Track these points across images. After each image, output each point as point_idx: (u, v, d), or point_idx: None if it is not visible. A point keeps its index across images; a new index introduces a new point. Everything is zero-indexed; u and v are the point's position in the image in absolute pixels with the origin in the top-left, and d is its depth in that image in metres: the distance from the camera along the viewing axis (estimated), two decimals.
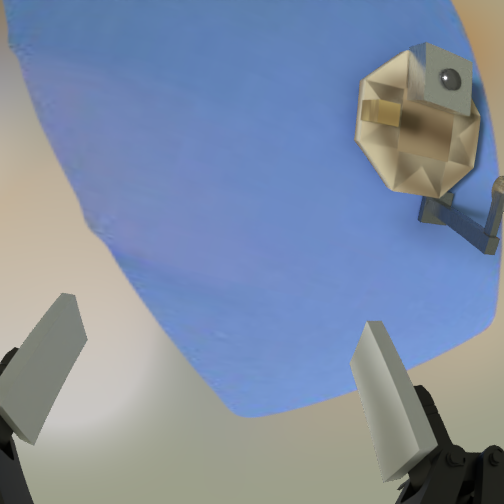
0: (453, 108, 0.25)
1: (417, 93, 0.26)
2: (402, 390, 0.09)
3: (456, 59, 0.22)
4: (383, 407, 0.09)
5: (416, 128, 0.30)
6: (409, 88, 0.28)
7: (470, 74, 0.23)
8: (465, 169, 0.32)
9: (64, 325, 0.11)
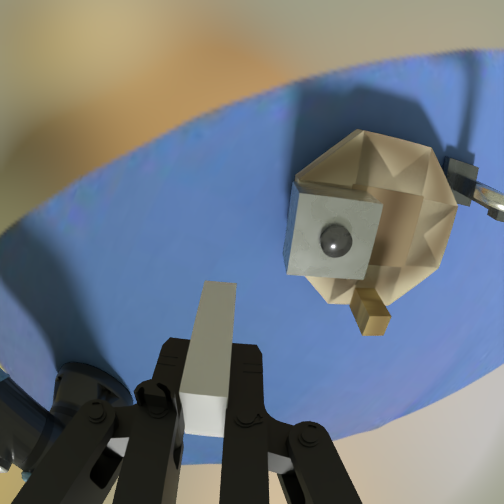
0: (374, 235, 0.24)
1: None
2: (217, 340, 0.11)
3: (302, 225, 0.23)
4: None
5: (383, 245, 0.29)
6: None
7: (321, 199, 0.22)
8: (433, 163, 0.25)
9: None
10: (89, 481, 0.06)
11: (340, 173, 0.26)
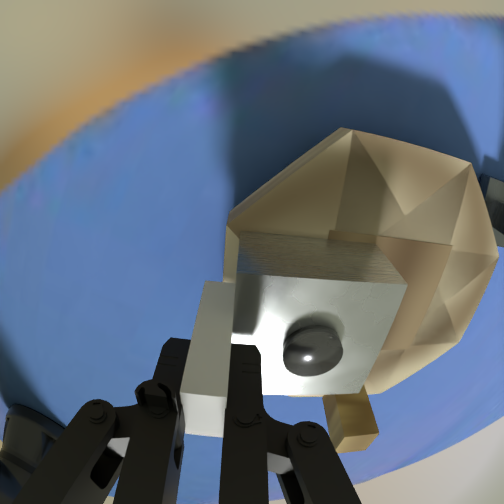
0: (384, 335, 0.12)
1: None
2: (216, 340, 0.11)
3: (246, 328, 0.12)
4: None
5: None
6: None
7: (283, 284, 0.11)
8: (471, 191, 0.13)
9: None
10: (90, 481, 0.06)
11: (305, 212, 0.14)
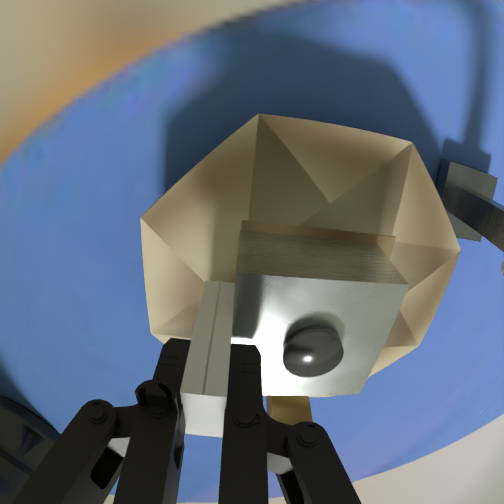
0: (385, 335, 0.12)
1: None
2: (216, 340, 0.11)
3: (246, 328, 0.12)
4: None
5: None
6: None
7: (282, 284, 0.11)
8: (416, 174, 0.13)
9: None
10: (90, 481, 0.06)
11: (214, 202, 0.14)
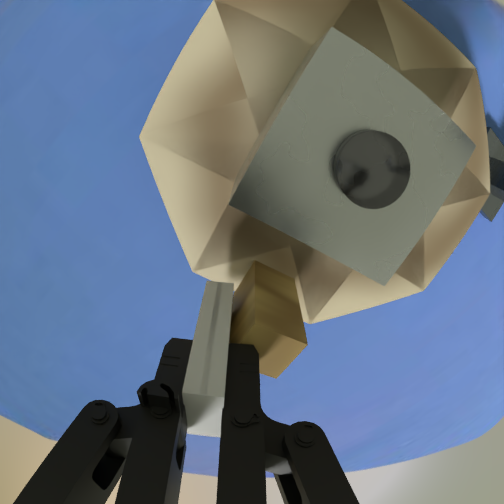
0: (442, 198, 0.10)
1: None
2: (213, 340, 0.11)
3: (310, 97, 0.08)
4: None
5: None
6: None
7: (373, 63, 0.08)
8: (473, 94, 0.11)
9: None
10: (91, 482, 0.06)
11: (298, 14, 0.10)
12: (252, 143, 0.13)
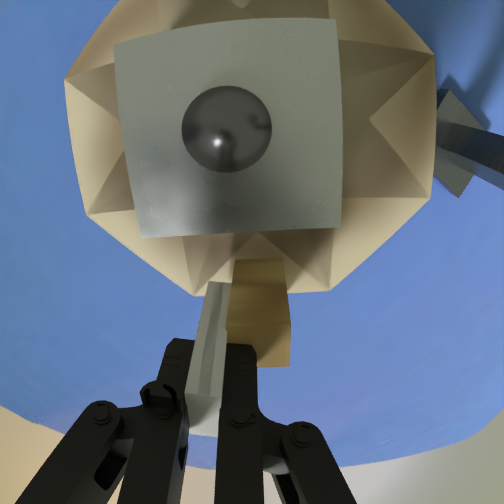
0: (335, 99, 0.08)
1: None
2: (211, 340, 0.11)
3: (135, 112, 0.08)
4: None
5: None
6: None
7: (163, 40, 0.07)
8: None
9: None
10: (93, 483, 0.06)
11: (126, 39, 0.10)
12: None
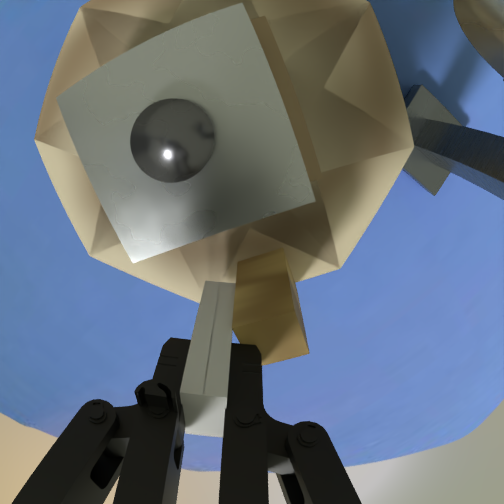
0: (267, 77, 0.08)
1: None
2: (216, 340, 0.11)
3: (92, 151, 0.09)
4: None
5: None
6: None
7: (96, 79, 0.08)
8: None
9: None
10: (89, 481, 0.06)
11: None
12: None
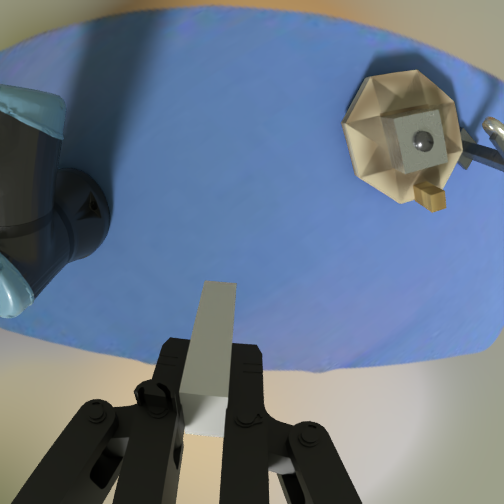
0: (441, 130, 0.30)
1: None
2: (217, 340, 0.11)
3: (402, 138, 0.31)
4: None
5: None
6: None
7: (406, 118, 0.30)
8: (423, 79, 0.31)
9: None
10: (89, 481, 0.06)
11: (369, 109, 0.33)
12: (388, 155, 0.36)
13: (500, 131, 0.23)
